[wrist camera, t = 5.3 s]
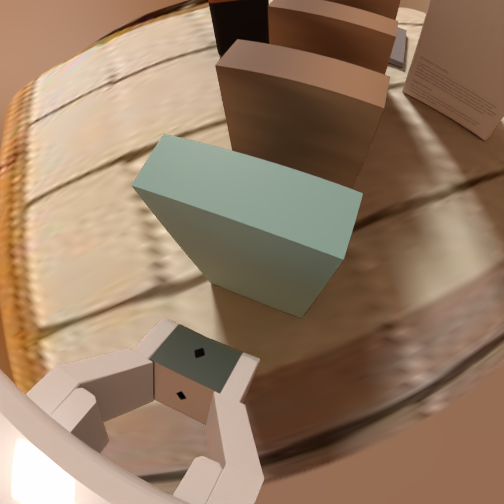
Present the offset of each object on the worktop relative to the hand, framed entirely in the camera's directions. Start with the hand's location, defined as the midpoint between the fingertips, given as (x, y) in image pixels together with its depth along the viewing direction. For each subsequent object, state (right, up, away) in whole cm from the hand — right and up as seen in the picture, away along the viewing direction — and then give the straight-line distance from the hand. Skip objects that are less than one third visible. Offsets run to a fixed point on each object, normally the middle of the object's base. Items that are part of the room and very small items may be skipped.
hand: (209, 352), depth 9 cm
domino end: (+2, +1, +7) cm, 8 cm away
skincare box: (+18, +16, +11) cm, 26 cm away
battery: (0, +22, +15) cm, 27 cm away
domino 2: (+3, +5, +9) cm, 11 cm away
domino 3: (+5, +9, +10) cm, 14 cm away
